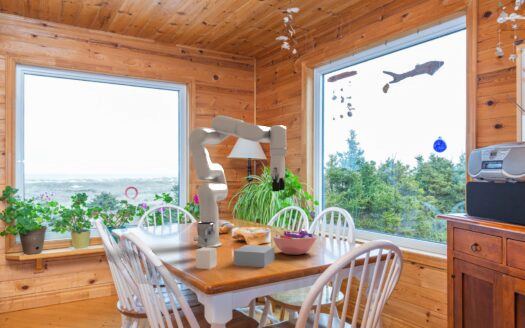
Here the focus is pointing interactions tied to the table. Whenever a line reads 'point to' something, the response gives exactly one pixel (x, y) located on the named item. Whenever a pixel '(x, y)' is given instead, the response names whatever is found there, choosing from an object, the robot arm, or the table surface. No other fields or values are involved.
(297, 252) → the cell model
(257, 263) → the base box
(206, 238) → the wine glass
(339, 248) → the table surface
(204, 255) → the cream matte cube
